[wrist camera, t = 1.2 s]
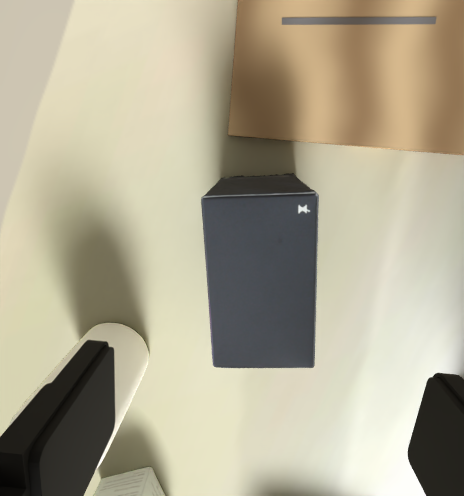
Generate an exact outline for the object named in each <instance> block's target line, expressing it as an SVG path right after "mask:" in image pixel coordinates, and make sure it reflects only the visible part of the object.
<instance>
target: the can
mask: <svg viewBox="0 0 464 496" xmlns="http://www.w3.org/2000/svg"><path fill="white" fill-rule="evenodd" d="M87 340H97V341H107V342H108V344H109V347H113V348H114V366H115V427H114V430H113V433H112V436H111V438H110V440H109V442H108V444H107V446H106V449H105V451H104V453H103V455H102V457H101V459H100V461H99V464H98V466H97V468H98V467H99V465H100V464H101V462H102V461H103V459H104V457H105V455H106V453H107V451H108V449H109V447H110V445H111V443H112V441H113V439H114V437H115V435H116V433H117V431H118V429H119V426H120V424H121V422H122V420H123V418H124V416H125V414H126V412H127V409H128V407H129V405H130V403H131V401H132V399H133V397H134V394H135V392H136V390H137V388H138V386H139V384H140V382H141V379H142V377H143V375H144V373H145V371H146V368H147V366H148V362H149V352H148V348H147V345H146V343H145V342H144V340H143V339H142V337H141V336H140V335H139V334H138V333H137V332H136V331H134V330H133V329H131V328H129V327H127V326H125V325H122V324H118V323H103V324H99V325H96V326H94V327H93V328H91V329H90V330H89V331H88V332H87V333H86V334H85V335H84V336H83V337H82V338H81V340H80V341H79V342H78V343H77V344H76V345H75V346H74V347H73V348H72V350H71V351H70V352H69V353H68V354H67V355H66V356H65V357H64V358H63V360H62V361H61V362H60V363H59V364H58V365H57V366H56V367H55V369H54V370H53V371H52V372H51V373H50V374H49V375H48V376H47V378H46V379H45V380H44V381H43V382H42V383H41V384H40V385H39V387H38V388H37V389H36V390H35V391H34V392H33V393H32V394H31V396H30V397H29V398H28V399H27V400H26V401H25V403H24V404H23V405H22V406H21V407H20V408H19V410H18V411H17V412H16V414H15V415H14V416H13V418H12V420H11V422H10V425H11V424H12V423H13V421H14V420H15V419H16V418H17V417H18V415H19V414H20V413H21V412H22V411H23V410H24V408H25V407H26V406H27V405H28V404H29V403H30V401H31V400H32V399H33V398H34V397H35V395H36V394H37V393H38V392H39V391H40V390H41V388H42V387H43V386H45V385H46V384H48V383H52V381H53V380H54V379H55V378H56V377H57V375H58V374H59V373H60V372H61V371H62V369H63V368H64V367H65V366H66V365H67V363H68V362H69V361H70V360H71V358H72V357H73V356H74V355H75V354H76V352H77V351H78V350H79V349H80V348H81V346H82V345H83V344H84V343H85V342H86V341H87ZM10 425H9V426H10ZM97 468H96V469H97Z"/></svg>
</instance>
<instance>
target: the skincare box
mask: <svg viewBox="0 0 464 496" xmlns="http://www.w3.org/2000/svg"><path fill="white" fill-rule="evenodd" d="M93 496H165V494H164V492H163V490H162V488H161V486H160V484H159V482H158V480H157V478H156V475H155V473H154V471H153V469H152V468H151V467H145V468H141V469H137V470H133V471H129V472H126V473H122V474H118V475H113V476H109V477H106V478H102V479H101V480H100V483H99V485H98V487H97V489H96V491H95V493H94V495H93Z"/></svg>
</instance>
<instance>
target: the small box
mask: <svg viewBox="0 0 464 496" xmlns="http://www.w3.org/2000/svg"><path fill="white" fill-rule="evenodd" d="M318 202H319V196H318V194H317V193H316V192H315V191H314V190H312V189H310V188H309V187H308V186H306V185H305V184H304V183H303V182H301V181H300V180H299V179H298V178H297V177H296V176H295V175H294V173H292V174H284V175H270V176H265V175H264V176H247V177H245V176H234V177H228V178H221V179H220V180H219V181H218V183H216V185H215V186H214V187H213V188H212V189H210V191H208V192H207V194H206V195H204V196H203V197H202V199H201V204H202V217H203V230H204V244H205V258H206V271H207V285H208V299H209V314H210V329H211V344H212V359H213V366H214V367H221V368H313V367H314V359H315V322H316V287H317V243H318Z"/></svg>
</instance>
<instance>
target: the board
mask: <svg viewBox="0 0 464 496" xmlns="http://www.w3.org/2000/svg"><path fill="white" fill-rule="evenodd" d="M228 135H229V136H241V137H253V138H265V139H277V140H289V141H301V142H313V143H324V144H336V145H348V146H360V147H372V148H384V149H396V150H408V151H419V152H431V153H443V154H455V155H464V0H238V7H237V20H236V34H235V47H234V60H233V74H232V87H231V101H230V114H229V128H228Z"/></svg>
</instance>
